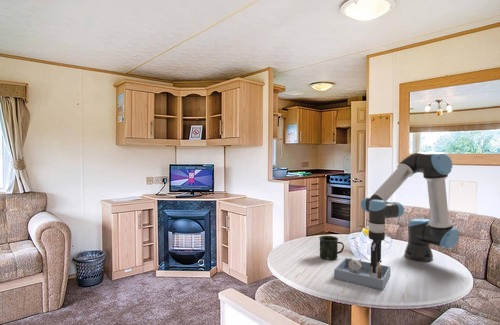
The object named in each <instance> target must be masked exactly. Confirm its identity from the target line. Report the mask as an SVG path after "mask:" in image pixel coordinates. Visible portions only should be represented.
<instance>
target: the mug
mask: <svg viewBox="0 0 500 325" xmlns="http://www.w3.org/2000/svg"><path fill="white" fill-rule="evenodd" d="M318 240H319V257H320V258H321V259H323V260H326V261H334V260H337V259H338V254H341V253H343V250H344V248H345V244H344V243H343V242H342V241H339V238H338V237H337V236H333V235H322V236H319V238H318ZM338 244H341V245H342V248H341V250H340V251H339V250H338Z"/></svg>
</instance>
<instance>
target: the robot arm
mask: <svg viewBox="0 0 500 325" xmlns="http://www.w3.org/2000/svg"><path fill="white" fill-rule="evenodd" d="M452 169H453V161H452V159H451V157H450V156H449V155H448V154H447V153H445V152H438V151H437V152H436V151H434V152H433V151H425V152H424V151H423V152H422V151H417V152H414V153H412V154H409V155H408V156H406V157H405V158H404V159H402V160H401V161H400V162H399V163H398V165H397V168H396V169H395V170H394V172H392V173H391V175H390V176H389V177H388V178H387V179H386V180H385V181H384V182H383V183H382V184H381V185H380V186H379V188H378V189H377V190H376V191H375V192H374V193H373V194H372V195H370V197H365V198H363V199H362V200H360V201H361V202H360V207H361V209H362V210H363V211H364V212H367V213H368V223H367V225H368V236H367V237H368V239H369V240H371V241H372V242H371V244H370V263H371V264H370V266H372V267H371V277H374V278H377V271H378V266H377V264H378V265H381V263H382V261H383V260H382V241H384V240H385V239H386V236H385V235H386V232H385V231H386V219H392V218H399V217H402V216H403V215H404V213H405V208H404V205H403V204H401V203H400V202H398V201H397V202H395V201H393V202H389V201H388V200H389V199H390V198H391V197H392V196H393V195H394V193H396V191H397V190H398V189H400V187H401V186H402V185H403V184H404V182H406V180H407V179H408V178H410V177H413V175H414V174H417V173H421V174H422V175H423V178H424V179H425V180H426V183H427V184H426V185H427V194H428V204H429V211H430V212H429V213H430V214H429V215H430V219H427V218H412V219H409V221H408V228H407V229H408V230H407V232H408V233H407V234H408V235H407V244H406V247H405V250H404V256H405V257H406V258H407V259H411V260H412V261H413V260H415V261H420V262H431V261H432V260H434V254H433V251H432V248H431V245H434V246H437V247H440V248H444V249H453V247H454V246H456V244H457V243H458V240H459V237H460V236H459V231H458V230H457V229H456V228H454V227H453V222H452V221H451V220H449V210H448V209H449V208H448V198H447V187H446V179H447V178H448V176H449V174H450V173H451V172H452Z"/></svg>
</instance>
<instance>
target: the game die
mask: <svg viewBox="0 0 500 325" xmlns="http://www.w3.org/2000/svg"><path fill="white" fill-rule="evenodd" d="M349 259H351V260H350V262H349V264H348V265H347V266H348V268H349V271H350V272H351V273H356V274H360V273H361V271H362V268H363V267H362V265H361V262H360V261H362V259H361V258H360V259H354V260H353V258H351V257H350V258H349ZM363 269H364V268H363Z"/></svg>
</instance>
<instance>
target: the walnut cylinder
mask: <svg viewBox="0 0 500 325" xmlns="http://www.w3.org/2000/svg"><path fill="white" fill-rule="evenodd" d="M381 265H382V264H380V265H378V264H377V266H378V271H377V278H378V279H381ZM371 267H372V266H371ZM371 267H370V277H371Z"/></svg>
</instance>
